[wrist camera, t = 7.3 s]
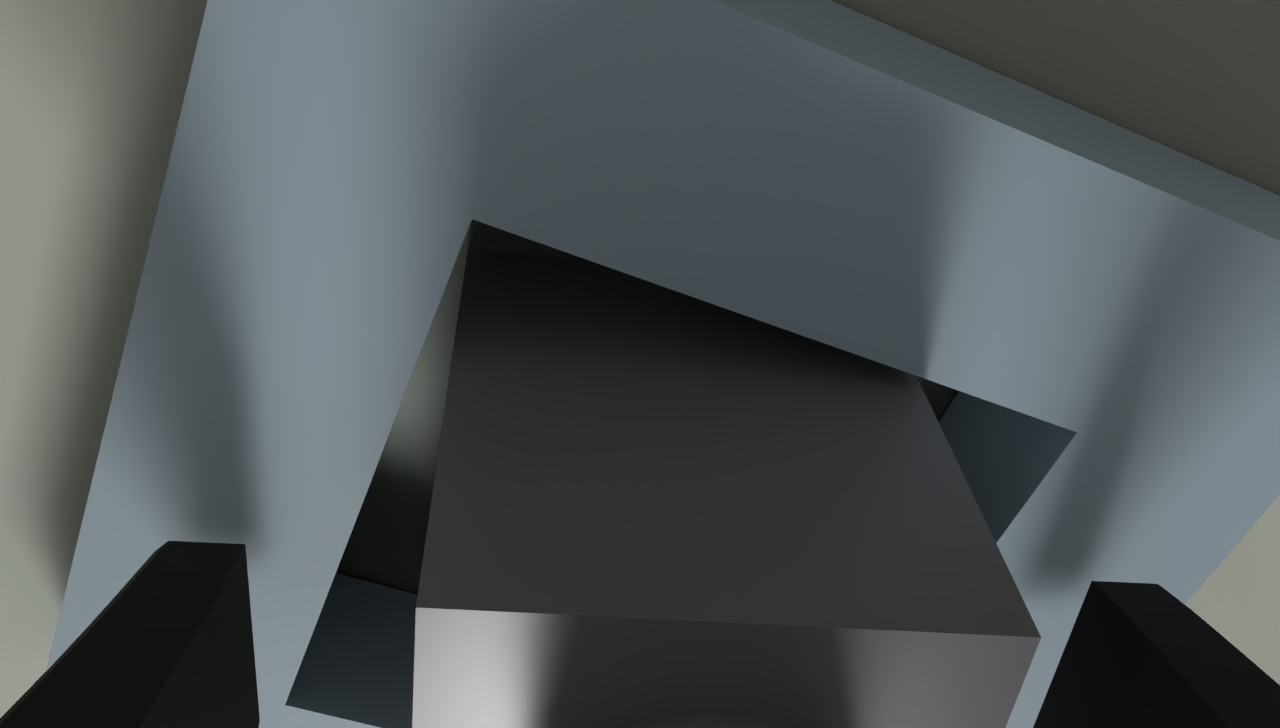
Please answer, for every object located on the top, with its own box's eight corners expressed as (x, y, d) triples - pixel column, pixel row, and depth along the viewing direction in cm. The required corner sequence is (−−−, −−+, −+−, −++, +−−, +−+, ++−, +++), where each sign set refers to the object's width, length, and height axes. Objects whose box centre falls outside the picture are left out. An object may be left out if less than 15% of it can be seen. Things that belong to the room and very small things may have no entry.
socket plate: (309, -228, 9) (254, -194, 8) (1312, 209, 12) (1437, 308, 10) (81, 654, 14) (15, 798, 12) (836, 832, 16) (869, 972, 15)
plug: (468, 246, 12) (370, 904, 6) (870, 280, 12) (1177, 921, 6) (452, 563, 14) (369, 1290, 8) (796, 581, 14) (969, 1282, 8)
